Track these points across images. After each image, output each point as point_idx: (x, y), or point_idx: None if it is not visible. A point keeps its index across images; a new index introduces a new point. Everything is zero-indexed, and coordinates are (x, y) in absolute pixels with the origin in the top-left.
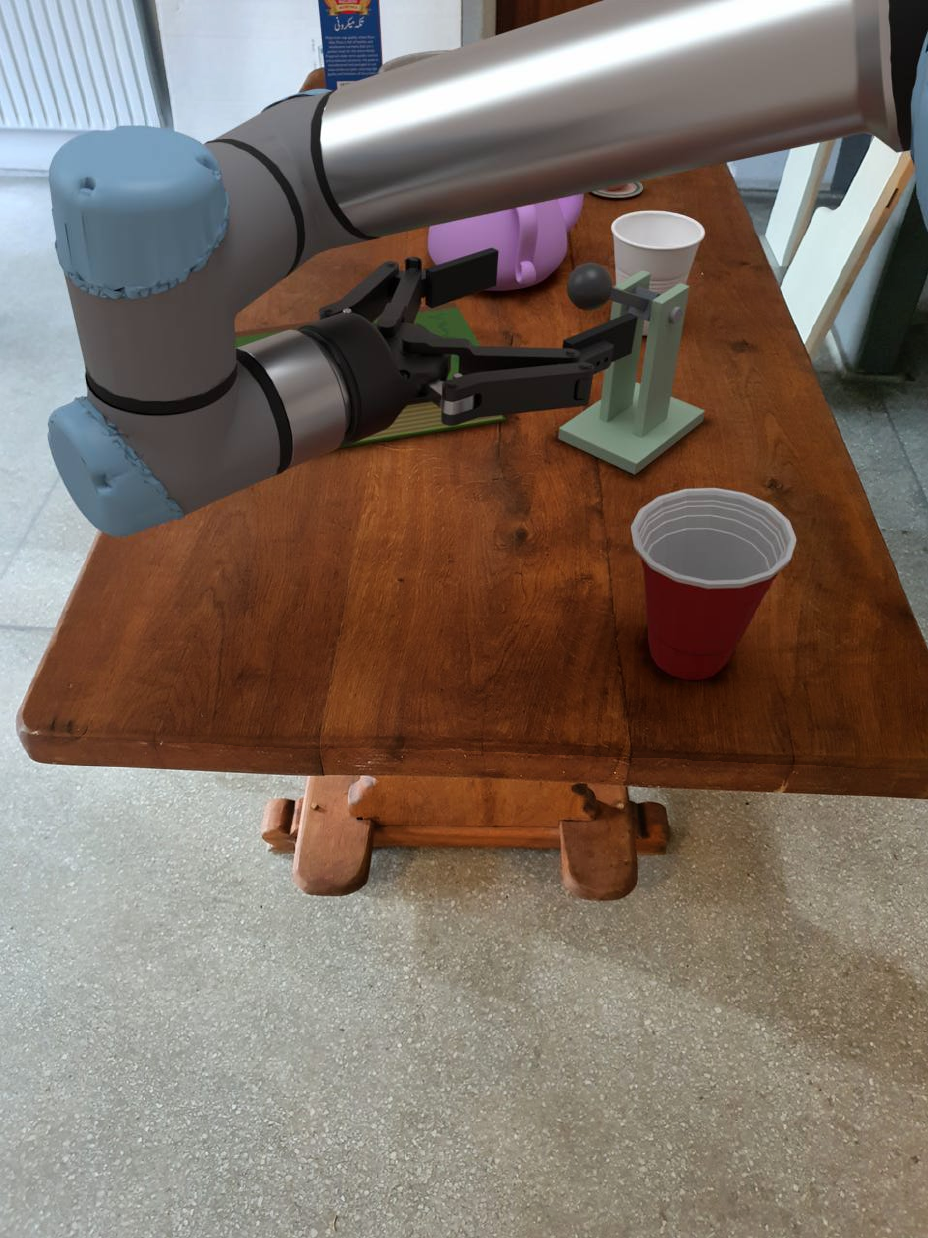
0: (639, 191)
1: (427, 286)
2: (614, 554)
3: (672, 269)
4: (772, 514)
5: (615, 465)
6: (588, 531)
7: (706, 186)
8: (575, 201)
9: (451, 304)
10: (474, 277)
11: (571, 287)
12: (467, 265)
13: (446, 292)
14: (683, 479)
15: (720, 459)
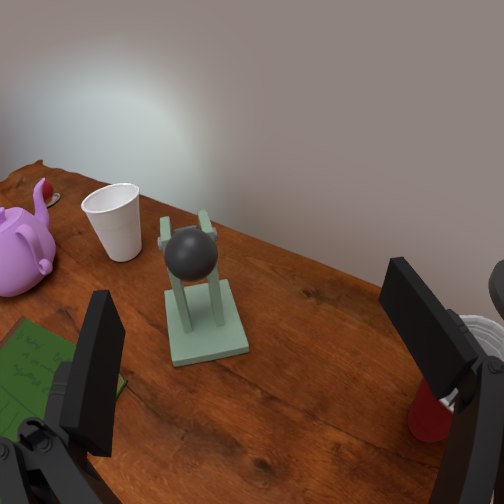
0: (59, 196)
1: (81, 441)
2: (323, 416)
3: (134, 213)
4: (468, 320)
5: (231, 355)
6: (288, 418)
7: (84, 180)
8: (44, 212)
9: (21, 318)
10: (109, 353)
11: (183, 268)
12: (97, 351)
13: (104, 416)
14: (273, 330)
15: (268, 300)
